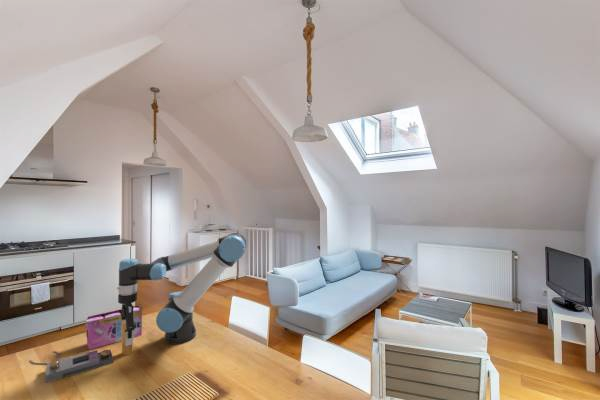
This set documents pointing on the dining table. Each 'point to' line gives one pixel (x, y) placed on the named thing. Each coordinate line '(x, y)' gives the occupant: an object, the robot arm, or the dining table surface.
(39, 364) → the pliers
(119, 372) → the dining table surface
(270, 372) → the dining table surface
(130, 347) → the pin
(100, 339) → the gum box
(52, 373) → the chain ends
